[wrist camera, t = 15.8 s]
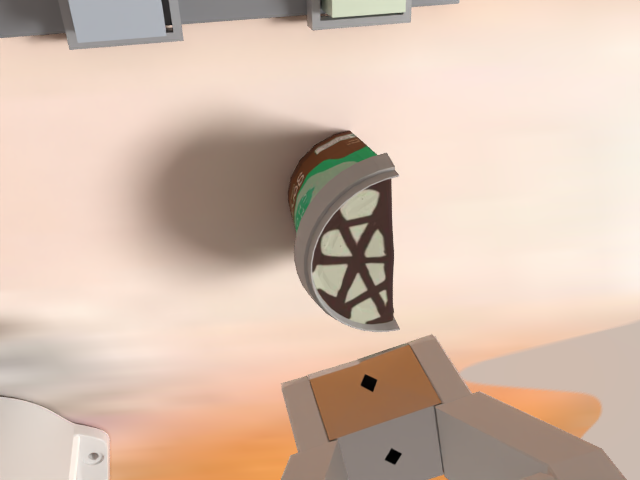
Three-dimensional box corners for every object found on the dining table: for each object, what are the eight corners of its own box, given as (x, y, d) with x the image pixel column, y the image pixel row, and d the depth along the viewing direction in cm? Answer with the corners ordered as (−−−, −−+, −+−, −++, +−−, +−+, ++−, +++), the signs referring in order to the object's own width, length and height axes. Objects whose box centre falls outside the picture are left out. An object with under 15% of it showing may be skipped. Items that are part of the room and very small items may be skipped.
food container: (262, 123, 41) (291, 185, 33) (349, 110, 42) (399, 166, 34) (281, 272, 47) (309, 356, 39) (356, 258, 48) (399, 336, 40)
